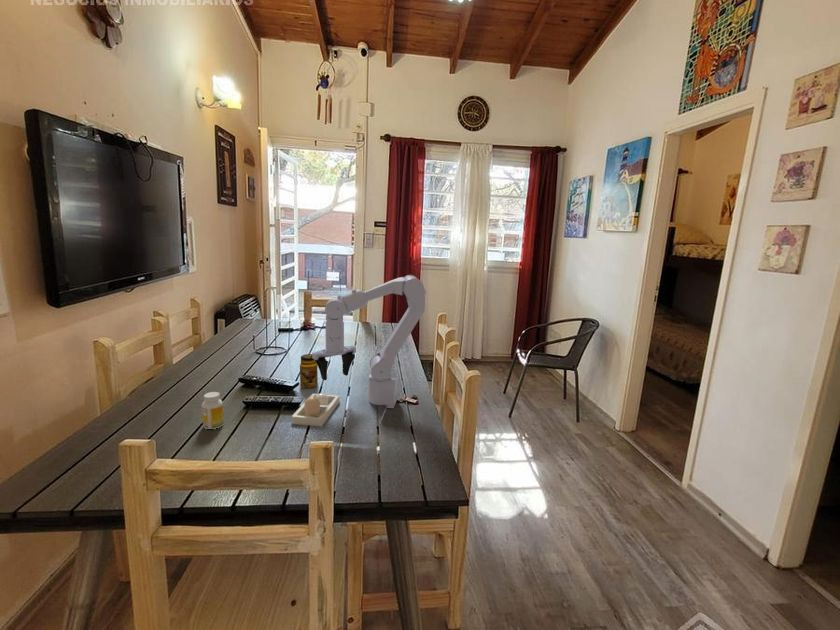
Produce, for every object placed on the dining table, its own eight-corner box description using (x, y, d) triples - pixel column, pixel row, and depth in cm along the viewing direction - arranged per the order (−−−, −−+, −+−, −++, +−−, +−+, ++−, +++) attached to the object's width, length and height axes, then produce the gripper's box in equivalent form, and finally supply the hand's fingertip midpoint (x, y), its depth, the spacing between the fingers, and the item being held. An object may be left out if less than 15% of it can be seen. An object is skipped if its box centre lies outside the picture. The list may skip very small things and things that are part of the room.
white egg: (330, 404, 133) (330, 391, 132) (325, 410, 129) (325, 397, 128) (317, 403, 134) (317, 390, 133) (312, 409, 129) (312, 395, 128)
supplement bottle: (199, 430, 115) (197, 398, 113) (207, 421, 120) (205, 390, 118) (220, 430, 116) (217, 398, 114) (226, 421, 121) (224, 390, 119)
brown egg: (322, 416, 125) (322, 396, 123) (313, 422, 121) (313, 401, 119) (310, 413, 126) (310, 393, 125) (301, 419, 122) (301, 398, 121)
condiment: (308, 393, 144) (308, 360, 141) (291, 387, 148) (290, 355, 145) (323, 386, 150) (323, 355, 147) (306, 381, 154) (305, 350, 151)
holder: (339, 404, 135) (339, 395, 135) (321, 428, 119) (321, 419, 118) (312, 402, 136) (312, 393, 136) (291, 426, 120) (291, 416, 119)
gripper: (319, 342, 123) (319, 385, 126) (361, 336, 132) (360, 376, 135) (309, 337, 128) (309, 378, 131) (349, 331, 138) (349, 370, 140)
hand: (334, 376), depth 134 cm, fingers open, 7 cm apart
